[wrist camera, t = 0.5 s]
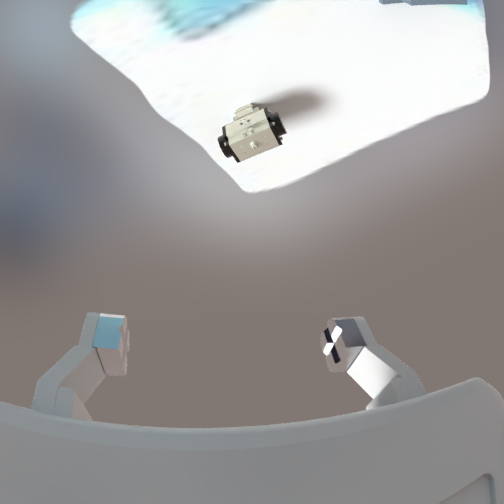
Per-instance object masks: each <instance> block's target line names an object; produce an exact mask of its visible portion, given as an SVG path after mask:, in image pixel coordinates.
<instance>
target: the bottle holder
mask: <svg viewBox="0 0 504 504" xmlns="http://www.w3.org/2000/svg"><path fill="white" fill-rule="evenodd" d="M379 2H380V3H382V4H391V3H402V2H406V3H408V4H410V5H411V6H412V5H432V4H465V5H467V0H379Z"/></svg>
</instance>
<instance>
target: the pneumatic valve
mask: <svg viewBox="0 0 504 504" xmlns="http://www.w3.org/2000/svg"><path fill="white" fill-rule="evenodd" d="M253 107H254V106H253V104H249V105H247V106H245V107H242V108H240V109H238V110H236V112H235V114H237V115H238V116H236V117H234V118H233V119H234V122H232V123H230V124H227V125H225V126H223V127H222V129H223V135H222V136H220V137H218V142H219V145H220V148H221V150H222V152H223V153H224V155H225V156H226V157H227V158H229V157H231V156H233V157H234V159H235V160H236V161H237V163H238V162H241V161H243V160H245V159H248V158H250V157H253V156H255V155H257V154H260V153H262V152H265V151H267V150H270V149H272V148H275V147H277V146H279V145H282V141H281V140H283V139H282V137H280V136H281V135H284V134H286V133H287V132H286V129H285V127H284V124H283V122H282V120H281V118H280V116H279V114H278V112H275V113H272V114H270V113H271V111H270V110H269V111H268V109H267V107H266V108H264V109H262V110H260V109H259V107H256V108H254V109H253Z"/></svg>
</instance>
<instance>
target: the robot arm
mask: <svg viewBox="0 0 504 504" xmlns="http://www.w3.org/2000/svg"><path fill="white" fill-rule="evenodd" d="M126 326H127V319H126V316H121V315H112V314H102V313H92V312H91V313H90V312H89V313H88V314H87V316H86V319H85V323H84V326H83V330H82V334H81V337H80V341H79V346H74V347H73V348H72V349H71V350H70V351H69V352H67V354H65V356H63V357H62V358H61V359H60V360H59V361H58V362H57V363H56V364H55V365H54V366H53V367H52V368H51V369H50V370H49V371H47V372H46V373H45V374H44V375H43V376H42V377H41V378H40V379H39V380H38V382H37V386H36V390H35V394H34V399H33V403H32V407H31V409H27V408H23V407H19V406H15V405H12V404H8V403H4V402H1V401H0V504H504V400H503V399H502V397H501V395H500V394H499V392H498V391H497V390H495V388H493V387H492V386H491V385H489V384H488V383H487V382H485V381H484V380H482V379H481V378H472V379H469V380H467V381H464V382H461V383H459V384H456V385H453V386H450V387H447V388H445V389H441V390H439V391H435V392H433V393H429V394H427V393H426V391H425V389H424V387H423V385H422V383H421V381H420V379H419V377H418V375H417V373H416V372H415V371H414V370H412V369H411V368H410V367H408V366H407V365H406V364H404V363H403V362H402V361H400V360H399V359H398V358H397V357H395V356H394V355H393V354H391V353H390V352H389V351H387V350H386V349H385V348H383V347H382V346H381V345H377V343H376V342H375V339H374V337H373V335H372V333H371V331H370V329H369V327H368V325H367V323H366V321H365V319H364V318H363V317H346V318H345V317H344V318H331V319H330V320H329V321H328V323H327V326H328V328H327V329H325V330H324V331H323V333H322V335H321V340H320V344H321V349H322V352H323V353H325V354H326V355H327V358H326V363H327V366H328V369H329V372H330V373H333V372H343V371H347V373H348V374H349V375H350V376H351V377H352V378H353V379H354V380H355V381H356V382H357V383H358V384H359V385H360V386H361V387H362V388H363V389H364V390H365V391H366V392H367V393H368V394H369V395H370V396H371V397H372V398H373V400H372V401H371V402H370V403H369V404H368V405H367V407H366V410H365V411H360V412H355V413H350V414H345V415H339V416H334V417H328V418H322V419H315V420H309V421H301V422H293V423H284V424H274V425H263V426H250V427H232V428H163V427H144V426H131V425H121V424H112V423H102V422H96V421H92V418H91V417H90V415H89V413H88V412H87V410H86V409H85V407H84V405H83V404H84V403H85V402H86V400H87V399H88V398H89V396H90V395H91V394H92V393H93V391H94V390H95V389H96V388H97V386H98V385H99V384H100V382H101V381H102V380H103V379H104V377H105V375H118V376H126V371H127V362H128V361H127V357H126V354H128V353H129V343H130V337H129V330H128V329H127V328H126Z"/></svg>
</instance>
